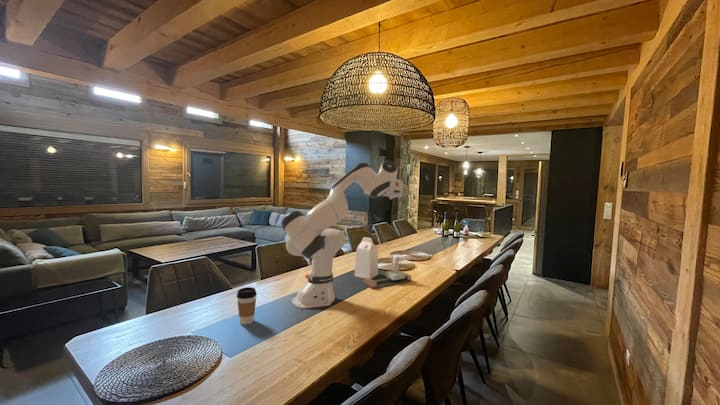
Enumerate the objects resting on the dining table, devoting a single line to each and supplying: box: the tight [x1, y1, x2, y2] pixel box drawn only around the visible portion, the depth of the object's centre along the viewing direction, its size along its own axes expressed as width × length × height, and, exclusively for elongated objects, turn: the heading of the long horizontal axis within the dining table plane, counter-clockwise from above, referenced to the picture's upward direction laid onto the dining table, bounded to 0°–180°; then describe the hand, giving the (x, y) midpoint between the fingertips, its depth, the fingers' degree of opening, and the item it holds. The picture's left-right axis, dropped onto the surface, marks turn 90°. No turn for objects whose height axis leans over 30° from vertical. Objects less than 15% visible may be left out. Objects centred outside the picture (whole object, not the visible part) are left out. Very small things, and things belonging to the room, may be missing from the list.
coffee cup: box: [236, 287, 257, 326], centre depth 135 cm, size 8×8×15 cm
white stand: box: [385, 256, 406, 280], centre depth 195 cm, size 9×9×13 cm
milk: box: [354, 236, 379, 279], centre depth 206 cm, size 12×12×26 cm
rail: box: [363, 270, 412, 290], centre depth 193 cm, size 30×10×4 cm, turn 121°
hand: (381, 197), depth 163 cm, fingers open, 8 cm apart
